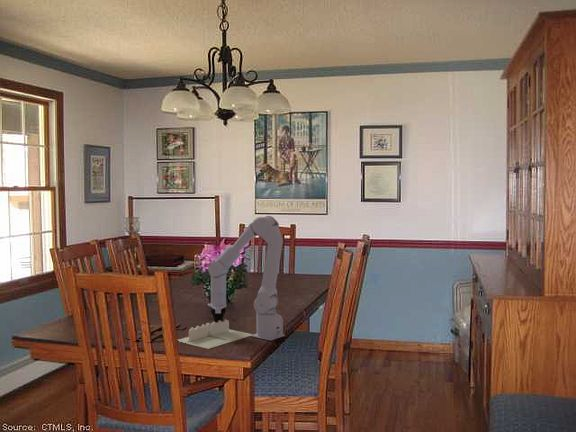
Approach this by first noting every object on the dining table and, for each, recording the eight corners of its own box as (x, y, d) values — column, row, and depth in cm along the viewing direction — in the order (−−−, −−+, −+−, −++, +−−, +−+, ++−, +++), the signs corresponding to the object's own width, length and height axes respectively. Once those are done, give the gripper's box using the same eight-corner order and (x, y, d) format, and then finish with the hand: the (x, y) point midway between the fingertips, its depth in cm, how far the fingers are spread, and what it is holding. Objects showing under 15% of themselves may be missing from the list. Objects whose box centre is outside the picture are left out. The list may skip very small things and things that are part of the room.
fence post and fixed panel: (211, 335, 213) (211, 323, 213) (191, 341, 205) (190, 328, 205) (208, 335, 214) (208, 322, 214) (188, 341, 206) (187, 328, 206)
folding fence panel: (211, 335, 214) (211, 322, 213) (210, 334, 214) (210, 322, 214) (228, 331, 219) (228, 319, 219) (227, 330, 220) (227, 318, 219)
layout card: (253, 335, 214) (253, 334, 214) (208, 349, 197) (208, 348, 197) (221, 328, 225) (221, 327, 225) (175, 341, 207) (175, 340, 207)
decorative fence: (188, 329, 227) (153, 326, 231) (188, 324, 227) (153, 322, 231) (159, 345, 205) (122, 342, 209) (159, 340, 205) (121, 337, 209)
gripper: (208, 289, 225) (208, 323, 226) (207, 296, 210) (207, 333, 211) (226, 288, 225) (226, 323, 226) (226, 296, 211) (226, 332, 212)
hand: (218, 328), depth 219 cm, fingers closed
